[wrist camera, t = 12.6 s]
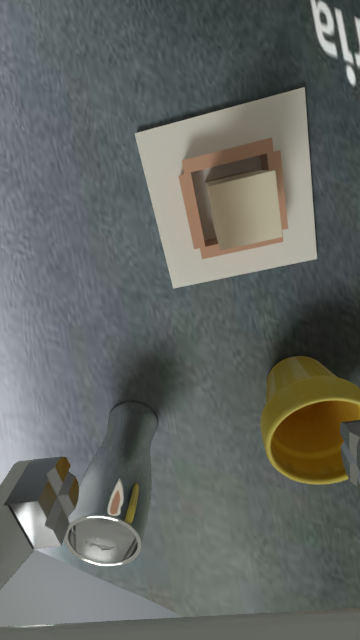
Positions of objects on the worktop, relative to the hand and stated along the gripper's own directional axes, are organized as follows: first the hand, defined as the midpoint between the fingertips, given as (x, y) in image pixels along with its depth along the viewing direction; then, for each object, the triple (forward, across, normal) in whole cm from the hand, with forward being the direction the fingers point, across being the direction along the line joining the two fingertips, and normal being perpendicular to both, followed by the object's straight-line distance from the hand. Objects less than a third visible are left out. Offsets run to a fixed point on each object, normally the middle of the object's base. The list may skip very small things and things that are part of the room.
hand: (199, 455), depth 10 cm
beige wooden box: (+25, +4, +5) cm, 25 cm away
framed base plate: (+25, +4, +5) cm, 26 cm away
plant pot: (+26, +8, -16) cm, 32 cm away
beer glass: (+26, -12, -18) cm, 34 cm away
